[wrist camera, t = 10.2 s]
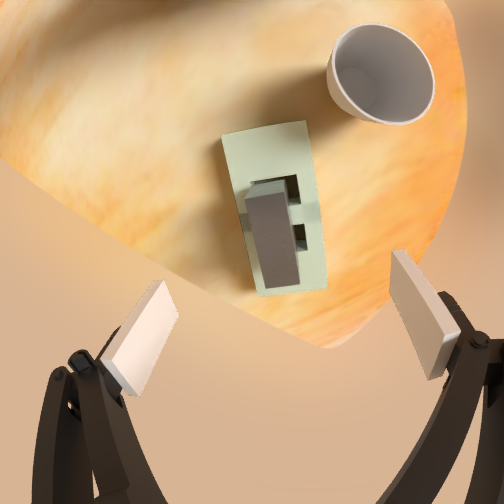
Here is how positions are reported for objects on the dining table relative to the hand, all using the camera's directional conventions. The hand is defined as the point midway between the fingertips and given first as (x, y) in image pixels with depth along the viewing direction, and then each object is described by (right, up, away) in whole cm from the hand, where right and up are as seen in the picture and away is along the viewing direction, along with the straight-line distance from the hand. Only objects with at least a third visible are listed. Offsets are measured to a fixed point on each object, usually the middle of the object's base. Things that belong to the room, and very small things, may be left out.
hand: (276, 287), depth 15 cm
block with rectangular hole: (+2, +7, +14) cm, 16 cm away
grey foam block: (+1, +7, +15) cm, 16 cm away
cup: (+9, +19, +8) cm, 22 cm away
